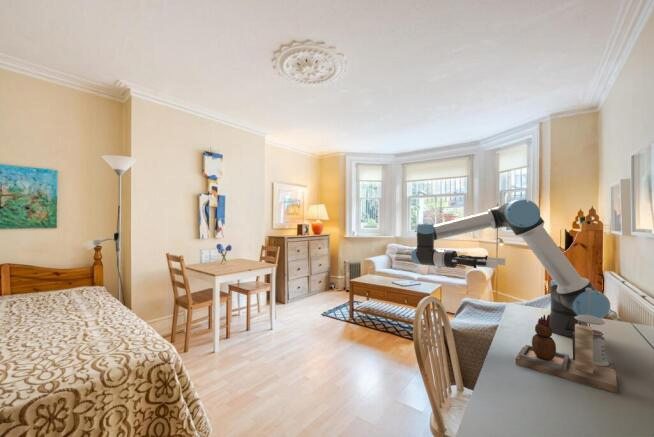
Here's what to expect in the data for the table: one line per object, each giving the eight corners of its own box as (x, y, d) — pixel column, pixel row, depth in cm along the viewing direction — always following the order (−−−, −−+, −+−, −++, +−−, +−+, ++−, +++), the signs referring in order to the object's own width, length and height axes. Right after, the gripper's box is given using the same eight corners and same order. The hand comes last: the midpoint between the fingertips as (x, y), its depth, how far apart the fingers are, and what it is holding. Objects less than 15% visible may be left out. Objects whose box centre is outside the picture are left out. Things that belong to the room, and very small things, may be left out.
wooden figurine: (559, 363, 92) (559, 316, 93) (539, 361, 93) (539, 315, 94) (547, 354, 99) (547, 310, 99) (529, 352, 100) (528, 309, 101)
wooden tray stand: (515, 363, 96) (515, 318, 97) (523, 352, 106) (522, 311, 106) (617, 393, 80) (616, 338, 80) (615, 376, 89) (614, 327, 90)
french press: (579, 362, 98) (578, 289, 99) (564, 349, 109) (563, 283, 110) (616, 367, 94) (614, 291, 95) (597, 353, 105) (596, 285, 106)
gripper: (456, 264, 136) (508, 269, 121) (434, 269, 118) (492, 276, 103) (456, 248, 136) (508, 251, 122) (434, 251, 118) (492, 255, 104)
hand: (501, 263), depth 112 cm, fingers open, 13 cm apart
